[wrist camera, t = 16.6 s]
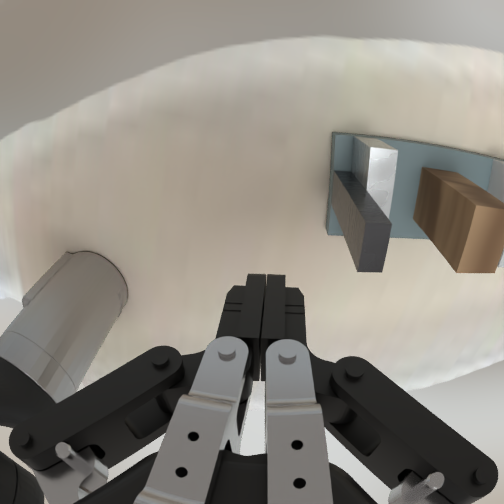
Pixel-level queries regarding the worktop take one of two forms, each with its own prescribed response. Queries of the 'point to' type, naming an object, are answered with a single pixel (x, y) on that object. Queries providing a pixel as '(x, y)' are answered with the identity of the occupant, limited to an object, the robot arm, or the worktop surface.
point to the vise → (416, 177)
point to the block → (460, 220)
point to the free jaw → (366, 202)
